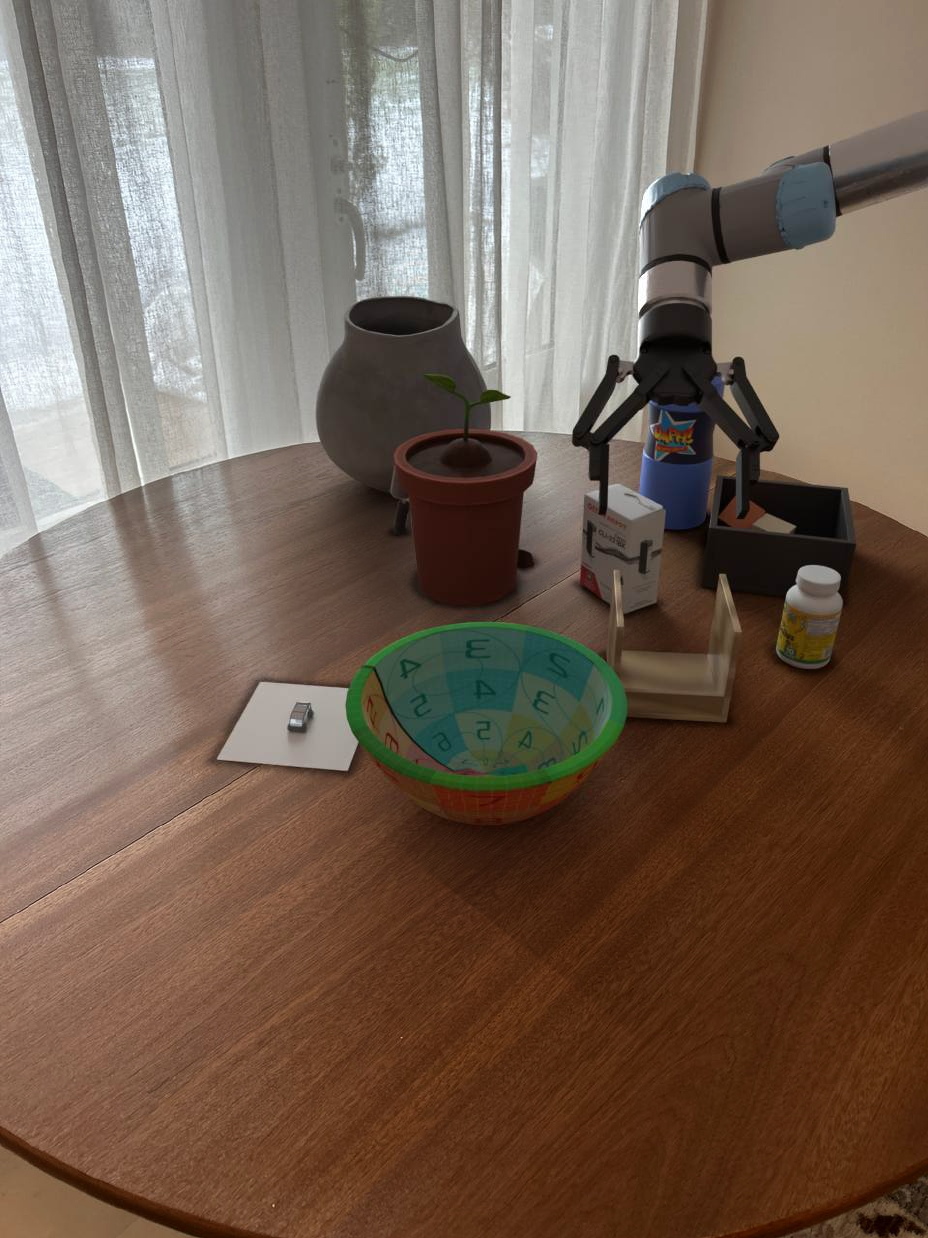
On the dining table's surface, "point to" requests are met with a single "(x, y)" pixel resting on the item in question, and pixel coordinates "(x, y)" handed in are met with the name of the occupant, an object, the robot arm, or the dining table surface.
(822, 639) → the supplement bottle
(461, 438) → the potted plant
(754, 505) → the terracotta block
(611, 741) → the bowl
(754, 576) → the basket
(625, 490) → the ink box
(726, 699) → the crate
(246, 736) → the white square sheet
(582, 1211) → the dining table surface
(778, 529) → the cream block
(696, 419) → the water bottle
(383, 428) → the ceramic pot
